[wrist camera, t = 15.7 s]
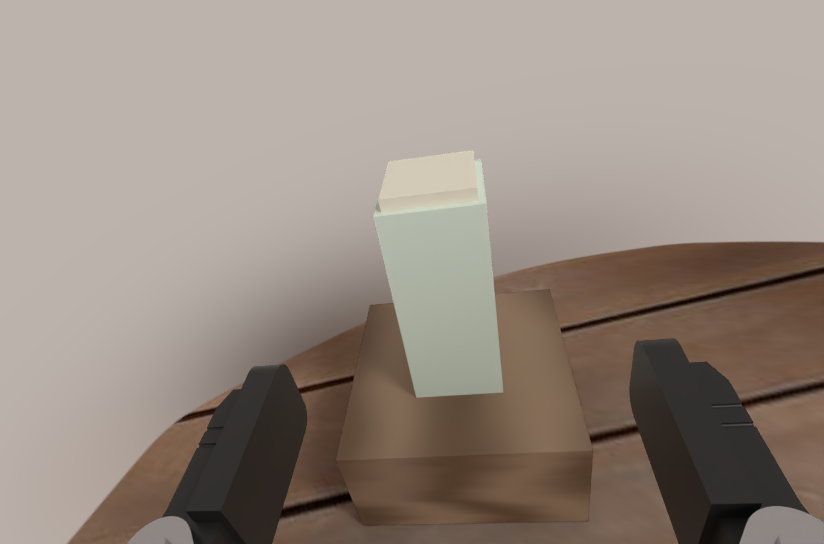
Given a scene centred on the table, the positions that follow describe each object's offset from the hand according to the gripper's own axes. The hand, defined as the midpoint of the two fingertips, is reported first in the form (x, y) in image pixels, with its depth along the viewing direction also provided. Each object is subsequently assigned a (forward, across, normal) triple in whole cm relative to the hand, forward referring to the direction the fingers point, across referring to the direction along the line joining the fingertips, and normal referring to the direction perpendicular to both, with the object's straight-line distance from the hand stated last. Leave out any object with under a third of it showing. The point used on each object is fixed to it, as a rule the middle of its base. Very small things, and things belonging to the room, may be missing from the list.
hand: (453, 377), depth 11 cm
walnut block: (+12, +1, +18) cm, 21 cm away
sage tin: (+12, +1, +12) cm, 16 cm away
